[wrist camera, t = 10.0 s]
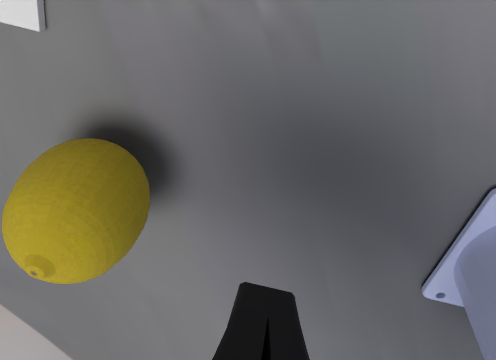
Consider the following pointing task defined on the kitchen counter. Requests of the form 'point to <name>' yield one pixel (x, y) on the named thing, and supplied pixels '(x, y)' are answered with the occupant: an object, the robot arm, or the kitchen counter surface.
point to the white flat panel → (23, 13)
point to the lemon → (76, 211)
